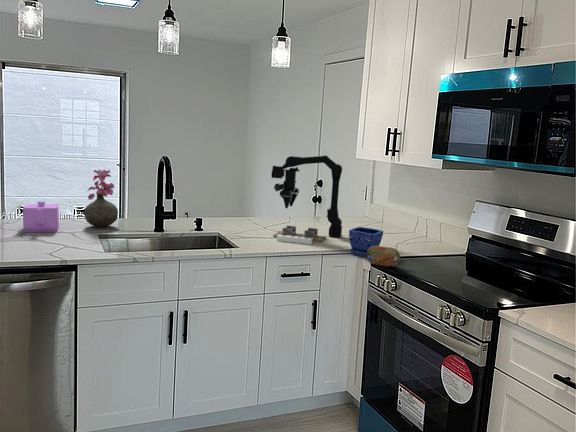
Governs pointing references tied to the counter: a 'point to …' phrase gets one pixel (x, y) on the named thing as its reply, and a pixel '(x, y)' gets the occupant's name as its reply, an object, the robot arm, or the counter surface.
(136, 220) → the counter surface
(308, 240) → the white bar
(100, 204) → the vase
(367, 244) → the flower pot
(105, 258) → the counter surface
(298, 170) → the robot arm
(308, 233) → the cradle board
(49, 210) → the pink lidded box
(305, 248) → the counter surface
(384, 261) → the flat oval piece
